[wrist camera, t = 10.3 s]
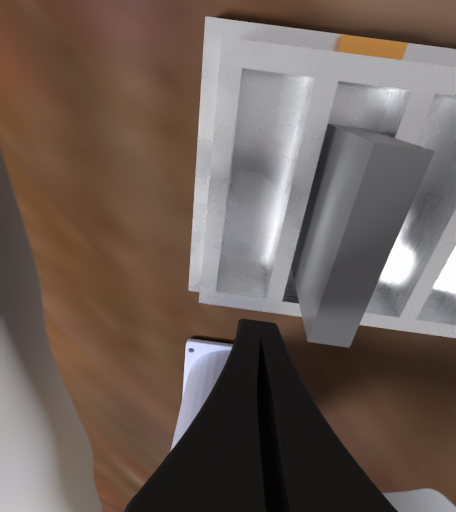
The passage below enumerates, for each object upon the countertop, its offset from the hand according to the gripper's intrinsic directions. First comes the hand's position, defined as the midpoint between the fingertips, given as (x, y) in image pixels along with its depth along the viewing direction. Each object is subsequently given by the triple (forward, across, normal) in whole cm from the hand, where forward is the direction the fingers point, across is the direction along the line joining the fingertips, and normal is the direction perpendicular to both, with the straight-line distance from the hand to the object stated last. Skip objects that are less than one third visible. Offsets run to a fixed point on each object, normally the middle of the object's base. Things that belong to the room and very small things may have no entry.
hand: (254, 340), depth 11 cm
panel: (+10, -4, -2) cm, 11 cm away
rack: (+10, -6, -3) cm, 12 cm away
